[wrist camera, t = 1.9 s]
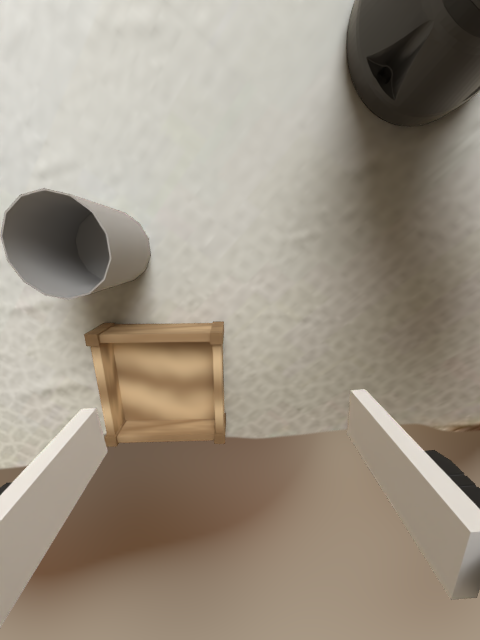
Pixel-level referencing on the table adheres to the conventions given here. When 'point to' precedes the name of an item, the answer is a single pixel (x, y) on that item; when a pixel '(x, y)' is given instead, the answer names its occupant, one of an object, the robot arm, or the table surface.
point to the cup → (72, 244)
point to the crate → (160, 381)
